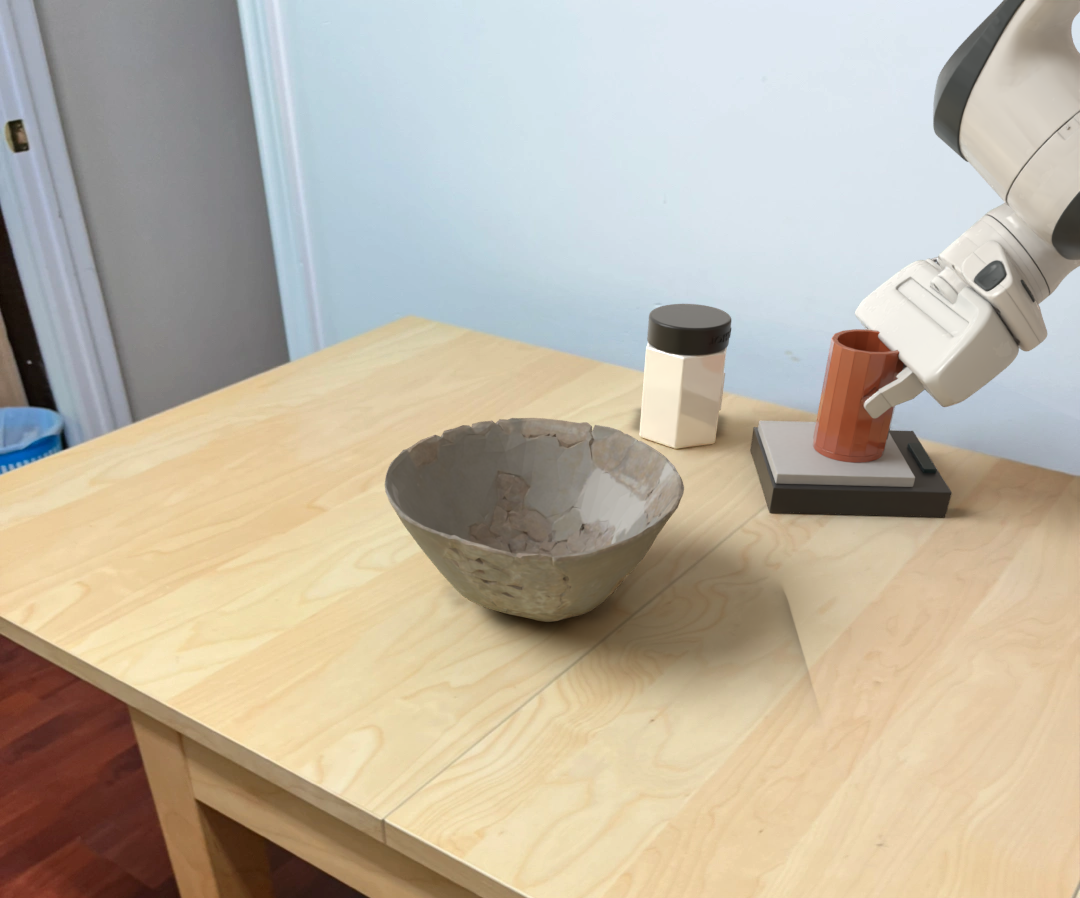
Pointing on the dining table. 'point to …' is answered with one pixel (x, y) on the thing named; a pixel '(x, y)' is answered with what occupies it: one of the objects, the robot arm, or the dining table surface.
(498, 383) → the dining table surface
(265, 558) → the dining table surface
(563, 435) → the ceramic bowl
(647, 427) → the jar
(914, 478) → the kitchen scale
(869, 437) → the cup
